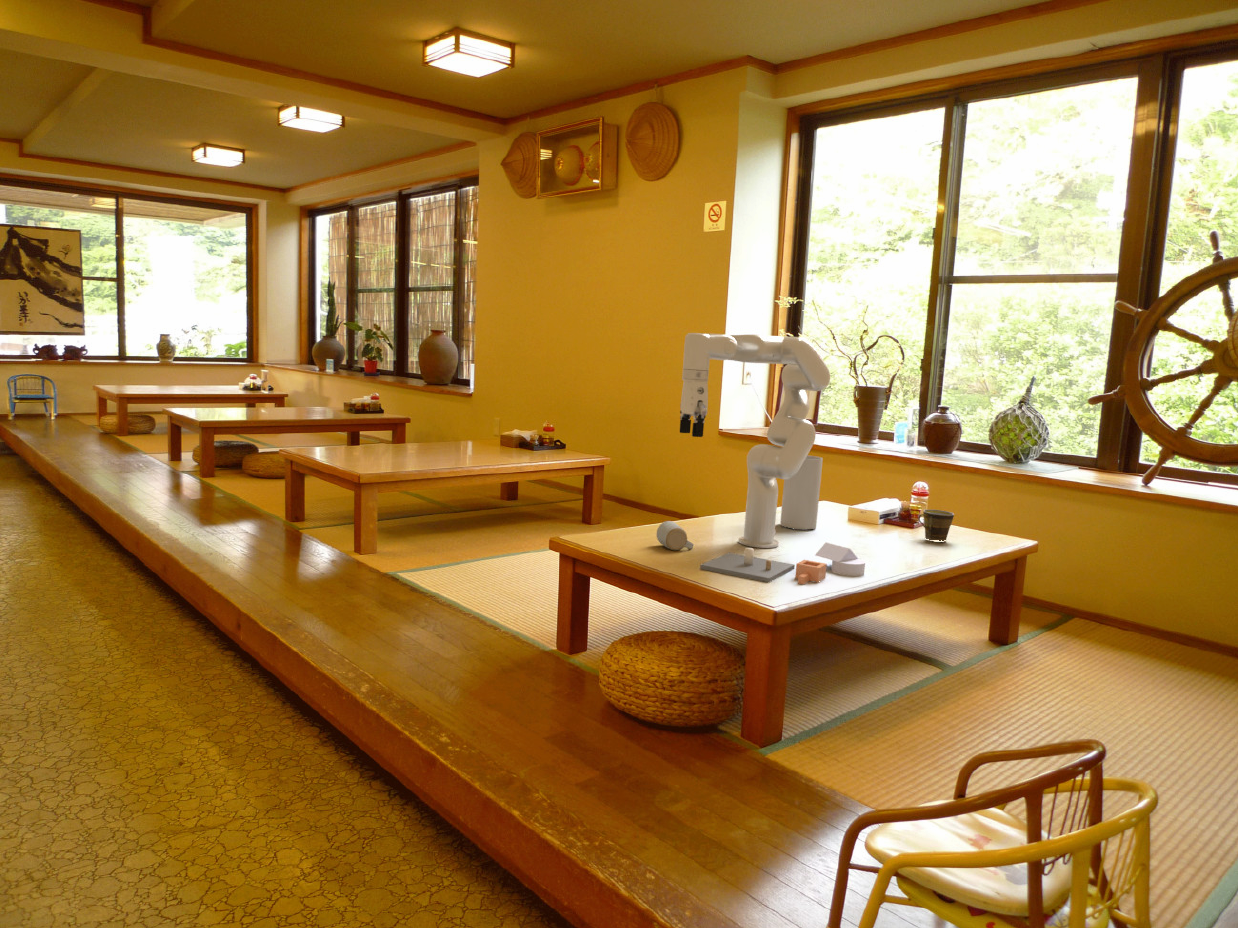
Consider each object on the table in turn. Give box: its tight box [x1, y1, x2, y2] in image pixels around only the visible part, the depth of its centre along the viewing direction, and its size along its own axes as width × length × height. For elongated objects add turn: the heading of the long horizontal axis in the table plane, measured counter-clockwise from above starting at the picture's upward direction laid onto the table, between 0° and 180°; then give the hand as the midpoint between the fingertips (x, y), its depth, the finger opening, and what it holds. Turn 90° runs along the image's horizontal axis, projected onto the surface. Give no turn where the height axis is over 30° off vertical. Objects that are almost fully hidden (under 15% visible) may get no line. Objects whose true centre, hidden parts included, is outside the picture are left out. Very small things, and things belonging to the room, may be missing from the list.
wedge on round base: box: [814, 542, 866, 577], centre depth 250 cm, size 9×7×13 cm
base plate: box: [699, 547, 796, 583], centre depth 244 cm, size 20×20×6 cm
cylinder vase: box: [779, 454, 824, 531], centre depth 309 cm, size 12×12×25 cm
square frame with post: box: [794, 559, 828, 585], centre depth 236 cm, size 11×6×4 cm, turn 149°
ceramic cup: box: [917, 509, 955, 541], centre depth 300 cm, size 13×10×10 cm
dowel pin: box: [766, 559, 772, 570], centre depth 240 cm, size 1×1×2 cm
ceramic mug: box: [656, 520, 695, 551], centre depth 264 cm, size 11×8×8 cm
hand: (690, 434), depth 256 cm, fingers open, 9 cm apart
